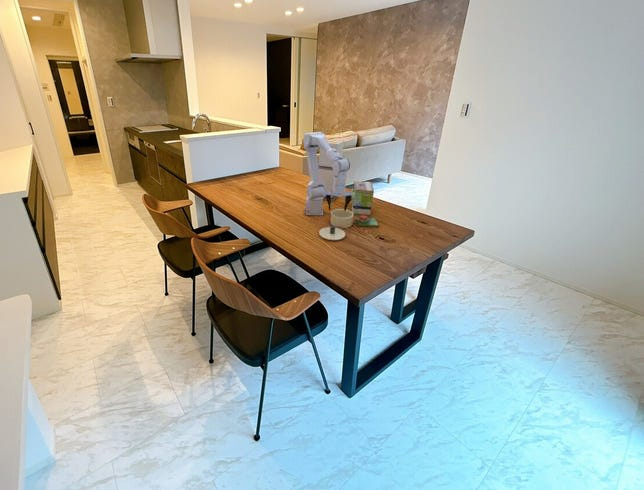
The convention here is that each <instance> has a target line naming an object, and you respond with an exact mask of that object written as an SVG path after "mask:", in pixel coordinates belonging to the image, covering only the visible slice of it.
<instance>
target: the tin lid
mask: <svg viewBox="0 0 644 490" xmlns="http://www.w3.org/2000/svg"><path fill="white" fill-rule="evenodd" d="M318 234H319V236H320V237H321V238H322V239H324V240H328V241H341V240H343V239H345V237H346V231H344V230H343V229H341V228H340V227H336V226H333V225H330V226H325V227H323V228H320V230H319V231H318Z"/></svg>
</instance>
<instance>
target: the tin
mask: <svg viewBox="0 0 644 490" xmlns="http://www.w3.org/2000/svg"><path fill="white" fill-rule="evenodd" d="M354 215H355V214H353V213H352V210H349V209H346V211H344V208H335V209H332V210H330V220H329V223H330V225H331V226H335V228H339V229H341V228H342V229H346V228H350V227H352V226H353V224H354Z"/></svg>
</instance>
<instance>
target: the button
mask: <svg viewBox="0 0 644 490" xmlns="http://www.w3.org/2000/svg"><path fill="white" fill-rule="evenodd" d="M359 216H360V219H361V220H366V219H367V217H368V215H361V214H360V215H359Z"/></svg>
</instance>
